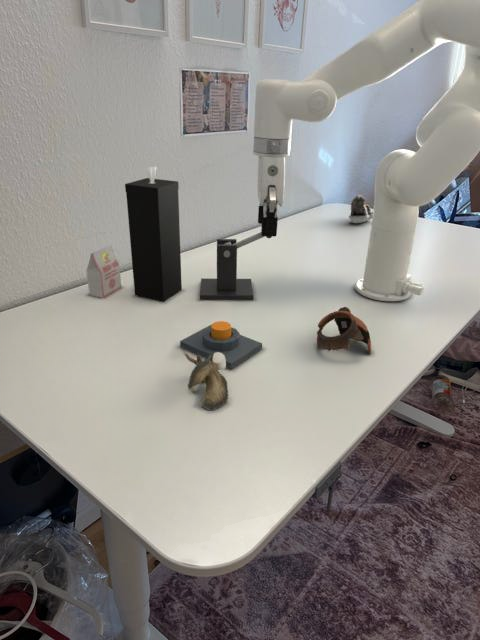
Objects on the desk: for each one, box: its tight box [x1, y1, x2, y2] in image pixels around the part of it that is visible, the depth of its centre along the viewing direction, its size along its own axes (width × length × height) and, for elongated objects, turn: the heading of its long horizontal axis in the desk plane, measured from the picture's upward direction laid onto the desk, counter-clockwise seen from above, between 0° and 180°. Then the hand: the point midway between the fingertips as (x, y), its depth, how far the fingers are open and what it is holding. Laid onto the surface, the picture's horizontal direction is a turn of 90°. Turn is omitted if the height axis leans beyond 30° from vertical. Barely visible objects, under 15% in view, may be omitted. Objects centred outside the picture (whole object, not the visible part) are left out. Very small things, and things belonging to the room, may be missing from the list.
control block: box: [179, 323, 263, 370], centre depth 87 cm, size 12×9×3 cm
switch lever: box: [225, 231, 273, 249], centre depth 106 cm, size 12×5×2 cm, turn 92°
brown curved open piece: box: [316, 306, 372, 355], centre depth 88 cm, size 12×10×8 cm
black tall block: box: [124, 166, 183, 303], centre depth 103 cm, size 8×8×28 cm
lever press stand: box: [199, 238, 254, 301], centre depth 108 cm, size 12×10×12 cm
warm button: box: [210, 320, 232, 340], centre depth 86 cm, size 4×4×2 cm
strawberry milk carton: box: [86, 244, 122, 299], centre depth 107 cm, size 4×7×10 cm, turn 157°
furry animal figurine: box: [184, 352, 229, 412], centre depth 74 cm, size 8×7×9 cm
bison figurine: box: [348, 195, 373, 224], centre depth 166 cm, size 12×7×10 cm, turn 148°
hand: (266, 229), depth 105 cm, fingers open, 9 cm apart
